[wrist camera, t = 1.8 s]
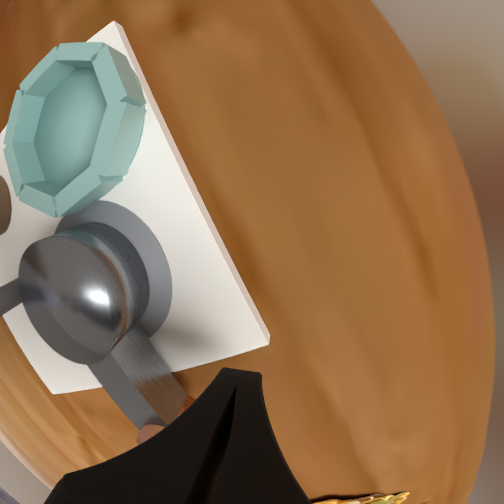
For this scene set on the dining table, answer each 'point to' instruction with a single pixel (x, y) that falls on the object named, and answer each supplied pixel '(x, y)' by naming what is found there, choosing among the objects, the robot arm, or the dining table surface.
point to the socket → (74, 127)
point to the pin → (4, 206)
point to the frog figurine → (371, 499)
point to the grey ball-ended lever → (101, 319)
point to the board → (143, 257)
